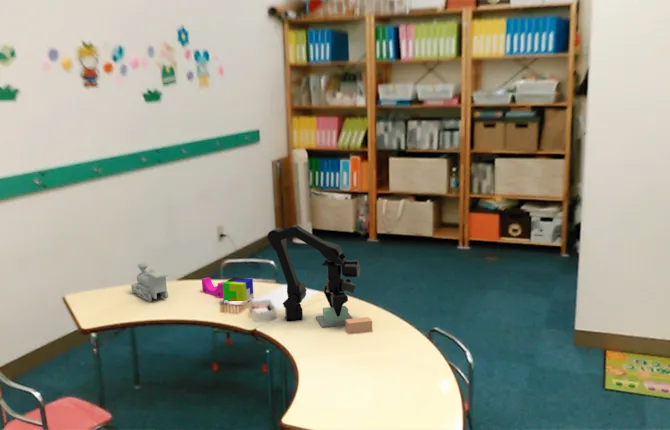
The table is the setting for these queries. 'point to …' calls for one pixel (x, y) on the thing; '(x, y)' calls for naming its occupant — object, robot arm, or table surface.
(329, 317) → the teal brick
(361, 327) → the terracotta brick
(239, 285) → the puzzle toy
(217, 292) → the toy block
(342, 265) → the robot arm
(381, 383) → the table surface
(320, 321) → the baseplate
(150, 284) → the toy train
